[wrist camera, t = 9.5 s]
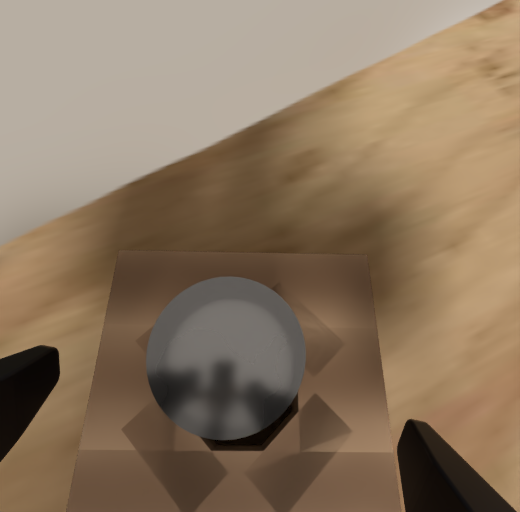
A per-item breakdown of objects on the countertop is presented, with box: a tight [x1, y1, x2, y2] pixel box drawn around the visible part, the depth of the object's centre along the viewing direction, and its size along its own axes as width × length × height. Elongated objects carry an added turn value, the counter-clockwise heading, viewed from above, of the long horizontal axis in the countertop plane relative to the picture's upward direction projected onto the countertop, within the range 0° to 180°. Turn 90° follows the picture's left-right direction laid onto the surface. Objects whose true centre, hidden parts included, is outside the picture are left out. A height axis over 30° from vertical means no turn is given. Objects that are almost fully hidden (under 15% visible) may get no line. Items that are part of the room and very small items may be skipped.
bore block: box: [66, 250, 401, 512], centre depth 16 cm, size 12×12×3 cm
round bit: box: [146, 276, 306, 440], centre depth 12 cm, size 3×3×11 cm
